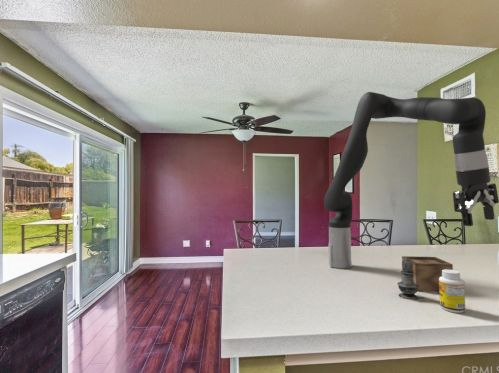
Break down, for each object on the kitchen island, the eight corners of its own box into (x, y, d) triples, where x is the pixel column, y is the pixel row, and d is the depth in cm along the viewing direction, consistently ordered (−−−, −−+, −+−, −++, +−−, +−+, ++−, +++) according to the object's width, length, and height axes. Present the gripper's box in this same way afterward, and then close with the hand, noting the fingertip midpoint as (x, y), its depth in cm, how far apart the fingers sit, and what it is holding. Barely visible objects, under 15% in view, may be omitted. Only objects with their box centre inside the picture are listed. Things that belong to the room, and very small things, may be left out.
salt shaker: (423, 300, 81) (421, 259, 82) (401, 299, 82) (399, 258, 83) (415, 293, 87) (413, 255, 87) (394, 292, 88) (393, 254, 88)
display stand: (416, 291, 89) (415, 263, 90) (402, 280, 100) (401, 256, 100) (453, 292, 88) (452, 264, 88) (435, 281, 98) (434, 256, 99)
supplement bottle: (441, 303, 78) (439, 267, 79) (466, 308, 75) (464, 270, 75) (438, 310, 74) (437, 271, 75) (465, 315, 71) (463, 275, 71)
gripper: (475, 164, 85) (482, 216, 86) (440, 172, 81) (448, 226, 82) (503, 162, 78) (511, 218, 79) (466, 170, 74) (475, 229, 75)
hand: (479, 222), depth 80 cm, fingers open, 8 cm apart
